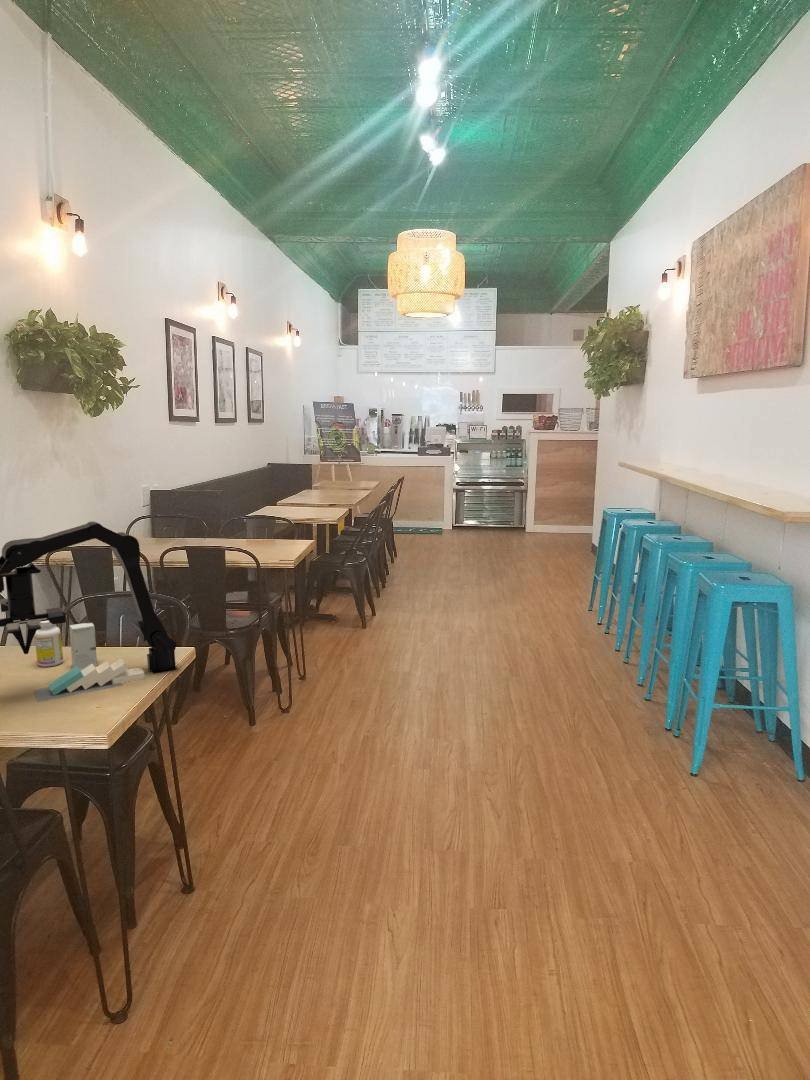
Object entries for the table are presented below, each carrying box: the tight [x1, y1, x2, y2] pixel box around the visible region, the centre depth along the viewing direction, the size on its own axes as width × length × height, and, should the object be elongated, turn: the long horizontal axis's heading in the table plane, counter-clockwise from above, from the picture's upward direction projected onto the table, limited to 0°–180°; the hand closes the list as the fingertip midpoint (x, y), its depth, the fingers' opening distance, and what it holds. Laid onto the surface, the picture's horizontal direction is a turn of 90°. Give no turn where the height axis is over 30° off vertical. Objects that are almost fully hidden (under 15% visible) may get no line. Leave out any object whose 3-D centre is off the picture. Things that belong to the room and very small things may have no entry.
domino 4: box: [111, 667, 146, 684], centre depth 192 cm, size 2×5×8 cm
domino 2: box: [82, 660, 113, 690], centre depth 188 cm, size 2×5×8 cm
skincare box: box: [69, 622, 98, 670], centre depth 201 cm, size 6×4×12 cm
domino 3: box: [97, 657, 129, 687], centre depth 190 cm, size 2×5×8 cm
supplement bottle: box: [34, 620, 64, 668], centre depth 204 cm, size 7×7×13 cm
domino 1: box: [67, 664, 99, 692], centre depth 186 cm, size 2×5×8 cm
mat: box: [33, 680, 123, 703], centre depth 186 cm, size 20×9×1 cm, turn 122°
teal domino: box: [48, 666, 84, 696], centre depth 184 cm, size 2×5×8 cm
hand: (26, 653), depth 178 cm, fingers closed
